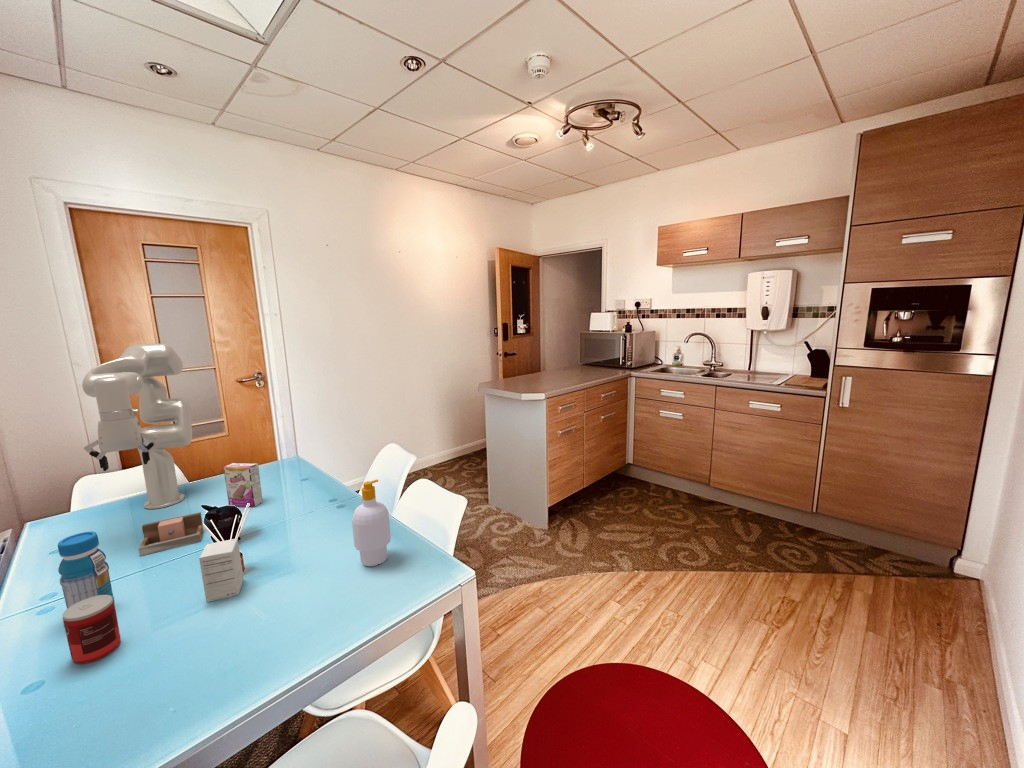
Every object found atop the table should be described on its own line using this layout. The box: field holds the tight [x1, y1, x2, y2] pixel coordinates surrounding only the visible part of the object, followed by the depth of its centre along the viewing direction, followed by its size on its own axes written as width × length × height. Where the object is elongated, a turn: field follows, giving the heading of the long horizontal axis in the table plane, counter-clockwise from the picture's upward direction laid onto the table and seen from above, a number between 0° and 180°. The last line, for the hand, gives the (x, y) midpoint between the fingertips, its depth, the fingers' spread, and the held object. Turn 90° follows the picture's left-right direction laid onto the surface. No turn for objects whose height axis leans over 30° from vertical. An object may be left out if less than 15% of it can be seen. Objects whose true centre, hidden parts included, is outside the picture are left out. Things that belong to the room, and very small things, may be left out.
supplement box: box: [198, 538, 244, 603], centre depth 110 cm, size 7×7×13 cm
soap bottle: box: [351, 479, 391, 567], centre depth 121 cm, size 10×10×24 cm
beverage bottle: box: [57, 531, 116, 609], centre depth 102 cm, size 8×8×20 cm
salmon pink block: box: [158, 516, 187, 542], centre depth 136 cm, size 5×6×7 cm
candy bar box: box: [223, 462, 264, 508], centre depth 162 cm, size 11×5×16 cm, turn 84°
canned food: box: [62, 595, 122, 665], centre depth 90 cm, size 8×8×11 cm
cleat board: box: [138, 512, 204, 557], centre depth 135 cm, size 9×15×6 cm, turn 122°
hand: (126, 466), depth 134 cm, fingers open, 9 cm apart
